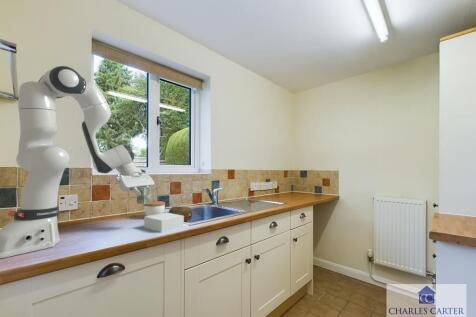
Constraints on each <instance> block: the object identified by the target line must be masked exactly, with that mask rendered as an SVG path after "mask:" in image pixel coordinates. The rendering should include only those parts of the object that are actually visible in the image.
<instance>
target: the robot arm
mask: <svg viewBox="0 0 476 317" xmlns="http://www.w3.org/2000/svg"><path fill="white" fill-rule="evenodd" d="M17 96H18V98H17V104H18V106H17V107H18V115H19V126H20V128H19V130H20V134H19V141H18V151H17V152H18V153H17V155H16V158H15V160H16V163H17V165H18V167H20V168H21V169H23V170H25V171H27V172H28V173H27V176H26V179H25V183H24V185H23V186H22V188H21V199H20V208H19V209H18V210H16V211H15V210H9V211H8V212H7V216H9V217H13V220H12V221H10V222H8V223H7V224H5V225H4V226H3V227H1V228H0V259H3V258H4V259H5V258H9V257H13V256H18V255H23V254H27V253H31V252H35V251H36V252H37V251H41V250H43V249H49V248H53V247H56V244H58V243H59V242H60V241H61V236H60V233H59V228H58V219H59V206H58V202H59V188H60V183H61V180H62V178H63V174H64V171H65V170H66V168H67V167H68V166H69V164H70V160H71V159H70V154H69V153H68V151H66V149H63V148H62V147H59V146H57V145H54V141H55V136H56V134H57V132H58V121H57V112H56V111H57V109H56V99H62V98H65V97H69V96H70V97H72V98H73V99H74V100H75V101H77V103H78V105H79V107H80V109H81V111H82V113H83V118H84V119H83V121H82V122H81V129H82V132H83V136H84V139H85V142H86V145H87V148H88V150H89V153H90V156H91V160H92V162H91V163H92V166H93V167H94V169H95V170H96V171H97V173H100V174H109V173H110V172H112V171H113V170H116V171H117V172H118V173H119V174H117V175H116V176H115V180H116V181H117V184H118V186H119V189H120V190H121V191H122V192H129V191H130V192H131V191H132V192H133V193H135V194H136V196H137V195H138V196H141V195H142V192H141V191H139V190H137V188H138V187H151V189H152V188H153V187H154V186H155V181H154V180H153V178H152V177H151V175H150V174H148V172H147V170H146V169H142V168H139V167H137V166H136V165H135V164H134V163H133V162H134V160H135V154H134V151H133V150H132V149H131V147H130V146H128V145H127V144H119V145H117V146H115V147H112V148H110V149H108V150H106V151H103V152H101V150H100V147H99V144H98V141H97V137H96V135H97V133H98V131H99V130H100V129H102V127H104V126H105V125H106V124H107V122H109V121H110V118H111V116H112V110H111V108H110V105H109V103H108V101H107V99H106V97H105V96H104V95H103V92H102V91H101V89H100V88H99V87H98V86H97V84H95V83H94V82H92V81H89V80H86V79H85V78H84V77H83V76H81V75H80V74H79V72H77V70H75V69H74V68H72V67H70V66H66V65H59V66H56V67H55V66H54V67H52V69H49V70H48V71H47V70H46V72H45V73H44V74H43V75H42V76H41V77H40V78H39V79H38V81H34V80H33V81H32V80H31V81H30V80H29V81H25V82H23V83H21V85H20V86H19V89H18V95H17Z"/></svg>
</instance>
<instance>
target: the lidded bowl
mask: <svg viewBox="0 0 476 317" xmlns="http://www.w3.org/2000/svg"><path fill="white" fill-rule="evenodd" d="M165 208H166V201H160V200H157V199H156V198H155V199H153V200H151V203H146V204H143V212H144V215H145V216H150V215H156V214H161V213H165Z"/></svg>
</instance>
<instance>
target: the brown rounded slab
mask: <svg viewBox="0 0 476 317" xmlns="http://www.w3.org/2000/svg"><path fill="white" fill-rule="evenodd" d="M168 213H172V214H177V215H182V216H184V223H186V222H189V221H191V220H192V219H193V217H194V210H193V209H192V208H191V207H189V206H179V205H177V206H172V207H170V208H169V209H168Z"/></svg>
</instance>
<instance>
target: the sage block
mask: <svg viewBox="0 0 476 317" xmlns="http://www.w3.org/2000/svg"><path fill="white" fill-rule="evenodd" d="M137 190H139V191H141V192H142V195H141V196H138V195H137V194H136V204H141V205H144V204H146V203H151V201H152V200H151V195H152V188H151V187H138V188H137Z"/></svg>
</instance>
